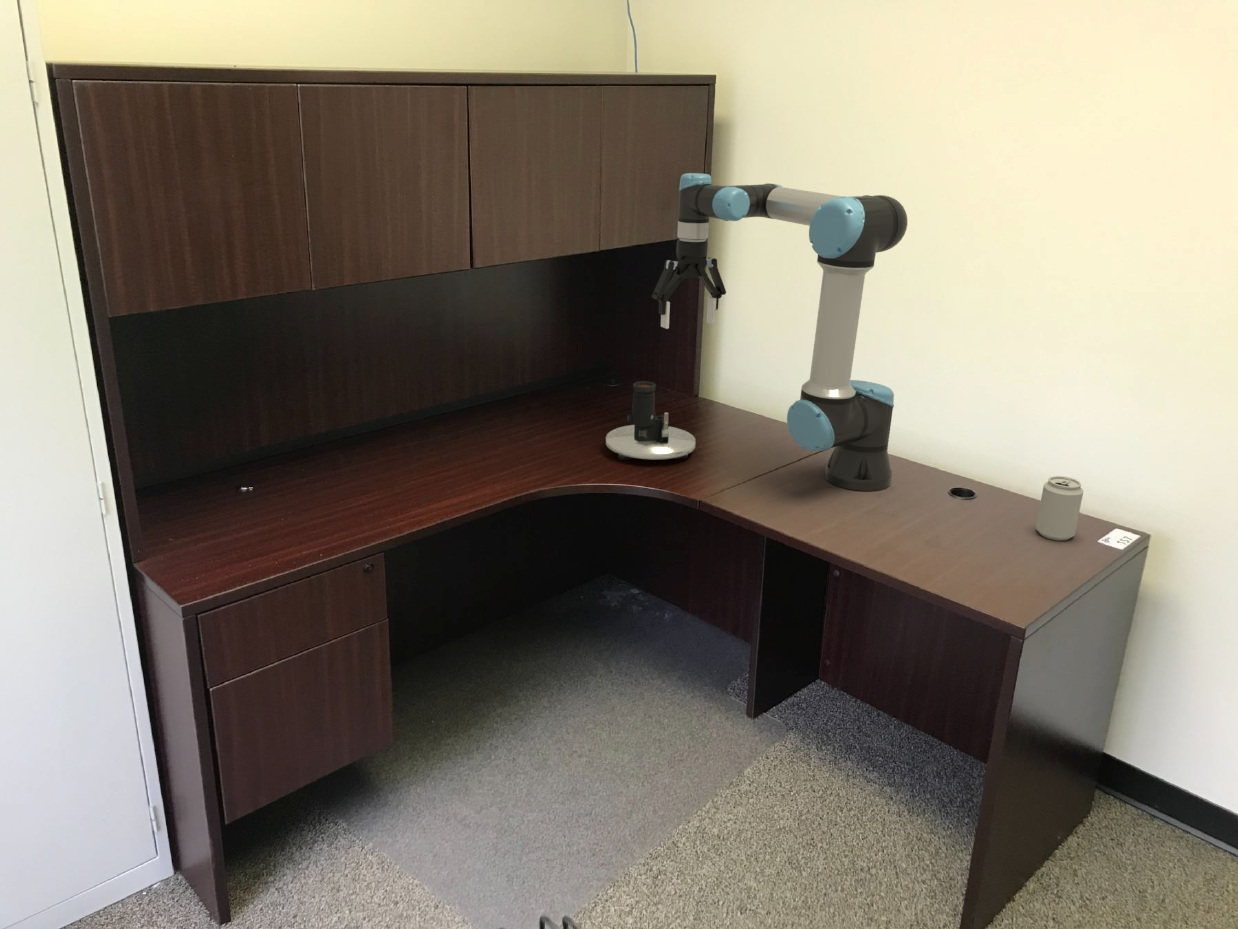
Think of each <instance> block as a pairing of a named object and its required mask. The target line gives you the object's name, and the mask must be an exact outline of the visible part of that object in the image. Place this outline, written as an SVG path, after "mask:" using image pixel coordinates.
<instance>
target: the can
mask: <svg viewBox="0 0 1238 929" xmlns="http://www.w3.org/2000/svg"><path fill="white" fill-rule="evenodd" d="M1081 486H1082V483H1081V481H1079V480H1077V479H1076V478H1073V477H1069V476H1061V475H1054V476H1051V477H1049V478H1048V479H1047V482H1045V483H1044V484H1043V486H1042V487H1043V488H1042V493H1041V497H1040V502H1039V503H1040V504H1039V509H1038V513H1037V514H1038V515H1037V518H1036V519H1037V520H1036V524H1035V530H1037V531H1038V532H1039V534H1040V535H1041V536H1042V537H1044V538H1046V539H1050V540H1053V541H1067V540H1069V539H1071V538H1073V537H1074V536H1075V535H1076V531H1077V525H1078V520H1079V516H1080V510H1081V506H1082V500H1083V497H1084V496H1083V495H1084V489H1083V488H1082V487H1081Z"/></svg>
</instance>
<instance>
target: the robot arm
mask: <svg viewBox="0 0 1238 929" xmlns="http://www.w3.org/2000/svg"><path fill="white" fill-rule="evenodd" d="M677 214H678V216H677V236H676V237H677V238H678V240H676V250H675V251H676V260H669V259H666V260H665V261H664V266H663V271H662V272H661V274H660V277H659V278H658V279H659V280H658V282H657V283H656V286H655V288H654V290H653V293H652V295H651V298H653V299H655V300H657V301H658V314H659V315H660V327H661V328H663V329H666V330H668V329H670V313H671V312H670V308H671V305H670V304H671V302H670V301H669V299H670V298H671V296H672V295H673V293H674V292H675V291H676V290H677V287H679V285H680V284H681V283H682V281H684V280H685V279H687V280H688V279H692V278H694V279H695V278H696V279H698V278H699V280H700V281H701V283H702V285H703V286H704V287H705V289H706V290H707V292H708V293H709V294H710V296H707V305H706V306H707V308H706V309H707V310H706V323H708V324H710V325H715V324H716V311H718V310H719V303H720V302H719V301H720V299H721V298H722V296H724V295H726V294H727V290H726V288H725V285H724V281H723V279H722V276H721V273H720V272H719V268H718V260H717V258H714V257H710V256H709V257H708V258H706V257H707V255H708V245H709V244H708V241H707V239H708V238H709V228H710V227H709V224H710V218H713V219H718V220H723V221H725V222H738V221H741V220H742V219H747V218H766V219H771V220H777V221H783V222H788V223H794V224H798V225H804V226H807V227H808V228H809V229H808V240H809V242H810V244H812V245H811V249H813V251H814V253H816V254H817V260H816V262H817V264H818V265H819V267H820V268H821V269H822V279H821V286H820V294H819V302H818V303H819V304H818V311H817V317H816V318H817V319H816V325H815V326H816V328H815V334H814V343H813V350H812V358H811V366H810V374H809V379H807V381H806V382H804V383H803V384H802V385H801V390H800V398H799V400H795V401H794V402H793V404H792V405H790V406H789V407H788V410H787V413H786V414H787V415H786V422H787V423H786V424H787V428H788V431H789V434H790V435H791V436H792V437H793V440H794V442H795V443H796V444H797V445H798V446H800V447H801V448H802V449H804V450H806V451H810V452H820V451H828V450H830V449H833V448H834V449H833V451H832V453H831V455H830V458H828V459H829V460H828V462H827V463H826V466H825V472H824V477H825V479H826V481H827V482H829V483H831V484H832V485H835V486H837V487H839V488H844V489H848V490H854V491H860V492H861V491H862V492H863V491H864V492H865V491H866V492H867V491H869V492H873V491H880V490H884V489H887V488H889V486H891V485H892V479H893V472H892V468H891V462H890V457H889V452H888V448H889V443H890V442H889V441H890V434H891V433H890V432H891V426H892V418H893V409H894V407H895V405H894V400H895V399H894V398H895V394H894V391H893V390H892V389H891V388H890V387H889V386H886V385H884V384H881V383H877V382H872V381H866V380H859V379H852V378H851V377H852V370H853V362H854V356H855V348H856V342H857V341H856V340H857V333H858V328H859V319H860V314H861V313H860V312H861V307H862V300H863V299H862V298H863V291H864V286H865V285H864V284H865V276H866V274H867V273H868V272H870V271H871V270H872V269H873V268H874V267H875V260H876V254H877V253H882V252H886V251H889V250H890V249H893V248H894V247H895V246H897V245H898V244H899V243H900V242H901V241H902V240H903V238H904V236H905V234H906V231H907V229H908V214H907V212H906V209H905V207H904V206H903V205H902V203H900V201H899V200H898V199H896V198H895V197H891V196H888V195H882V194H880V195H877V194H876V195H868V194H867V195H866V194H864V195H861V196H859V195H858V196H857V195H856V196H855V195H854V196H842V195H835V194H828V193H824V192H823V193H821V192H815V191H809V190H804V189H803V190H802V189H797V188H789V187H783V186H782V185H781V184H778V183H777V184H776V183H764V184H762V183H761V184H750V185H749V184H741V185H740V184H739V185H719V184H713V183H712V176H711V175H710V174H707V173H702V172H701V173H700V172H696V173H695V172H689V173H687V172H686V173H683V174H682V175H681V176H680V180H679V187H678V210H677ZM706 267H707V268H708V271H709V274H710V276H711V279H712V280H711V279H710V277H709V275H708V273H707V271H706V270H705V269H706ZM674 270H675V271H674Z"/></svg>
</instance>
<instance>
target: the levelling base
mask: <svg viewBox="0 0 1238 929" xmlns="http://www.w3.org/2000/svg"><path fill="white" fill-rule="evenodd" d="M634 428H635V425H634V424H631V425H624V426H620V427H616V428H615V429H612V430H610V431H609V432H608V433H607V434H606V436H605V445H606V447H607V448H608V449H609V450H610V451H612V452H613V453H616V454H618V459H619V460H621V461H630V460H632V458H633V459H640V460H641V459H642V460H670V459H678V460H679V459H680V460H682V459H683V460H685V459H687V458H688V455H689V454H691V453H692V452H693V451H694V450H695V448H696V437H695V436H694V435H693V434H691V433H690V432H689V431H687V430H683V429H681V428H678V427H673V426H670V425H669V427H668V430H669V437H668V443H667V442H663V443H661V440H660V441H637V440H635V439H634Z"/></svg>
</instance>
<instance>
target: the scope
mask: <svg viewBox="0 0 1238 929" xmlns="http://www.w3.org/2000/svg"><path fill="white" fill-rule="evenodd" d="M632 389H633V393H632V403H631V404H632V406H631V413H627V416H626V421H627V422H628V423H629V424H631V423H632V425H635V428H634V439H635V440H637V441H660V440H661V443H663V442H667V443H668V437H669V430H668V427H669V426H670V420H669V412H664V414H660V415H656V407H655V406H656V398H655V396H656V394H655V393H656V392H655V391H656V390H657V388H656V383H654V382H652V381H642V380H641V381H636V382H634V383H633V384H632Z"/></svg>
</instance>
